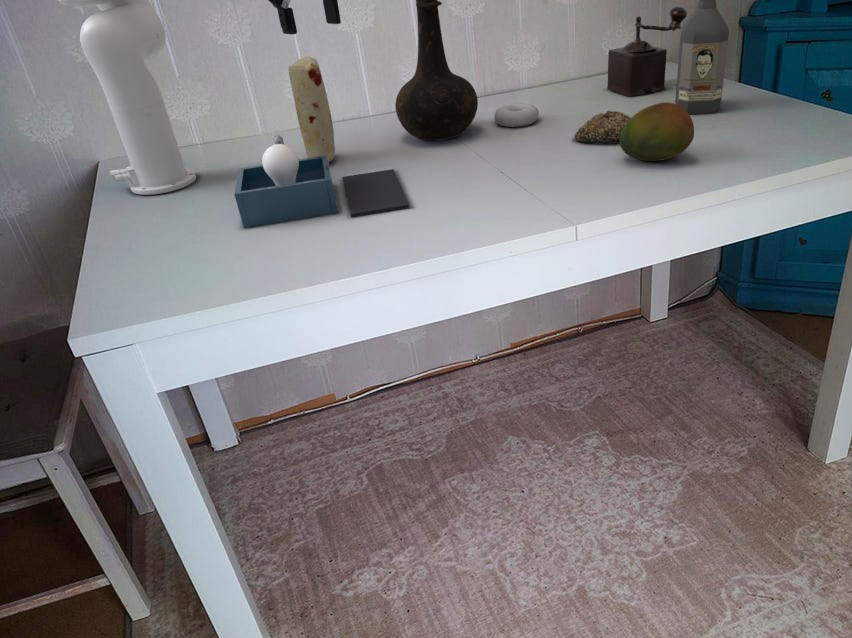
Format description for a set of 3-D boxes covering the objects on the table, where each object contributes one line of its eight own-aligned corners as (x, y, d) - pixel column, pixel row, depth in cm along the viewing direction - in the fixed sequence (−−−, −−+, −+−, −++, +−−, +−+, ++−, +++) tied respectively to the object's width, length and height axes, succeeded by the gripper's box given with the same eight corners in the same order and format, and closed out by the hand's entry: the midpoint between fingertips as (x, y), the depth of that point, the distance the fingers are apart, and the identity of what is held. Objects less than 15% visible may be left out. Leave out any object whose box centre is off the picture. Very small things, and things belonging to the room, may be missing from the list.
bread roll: (632, 146, 138) (633, 120, 135) (570, 144, 141) (570, 119, 139) (641, 127, 147) (643, 103, 145) (584, 126, 151) (584, 102, 148)
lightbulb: (315, 204, 125) (301, 142, 119) (286, 215, 121) (271, 152, 115) (295, 197, 128) (281, 137, 122) (267, 208, 125) (251, 147, 119)
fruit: (700, 163, 127) (706, 106, 121) (637, 175, 124) (640, 117, 119) (668, 146, 136) (672, 92, 130) (609, 156, 134) (611, 102, 128)
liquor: (674, 104, 160) (685, -47, 143) (715, 102, 159) (732, -50, 142) (677, 115, 153) (690, -42, 136) (721, 113, 151) (739, -46, 134)
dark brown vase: (404, 152, 146) (384, 3, 130) (395, 129, 160) (376, -7, 145) (487, 140, 148) (477, -7, 132) (471, 119, 163) (460, -16, 147)
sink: (243, 228, 118) (226, 166, 112) (247, 196, 131) (231, 139, 125) (338, 212, 120) (326, 151, 114) (332, 182, 133) (321, 126, 127)
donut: (525, 131, 152) (546, 117, 159) (524, 115, 150) (546, 102, 157) (486, 127, 157) (509, 114, 164) (485, 111, 155) (508, 99, 162)
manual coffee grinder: (631, 98, 167) (634, 15, 157) (606, 89, 176) (608, 10, 166) (684, 87, 172) (691, 6, 162) (657, 79, 181) (662, 2, 171)
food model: (341, 164, 142) (321, 60, 131) (308, 170, 141) (285, 65, 130) (337, 151, 150) (318, 51, 139) (306, 156, 149) (284, 56, 138)
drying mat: (351, 217, 118) (350, 213, 118) (342, 179, 134) (342, 176, 134) (409, 207, 120) (409, 204, 119) (394, 171, 136) (393, 168, 136)
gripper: (317, -91, 119) (336, 19, 128) (230, -83, 108) (258, 37, 118) (346, -94, 115) (363, 20, 124) (259, -85, 104) (285, 39, 114)
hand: (312, 28), depth 121 cm, fingers open, 9 cm apart
